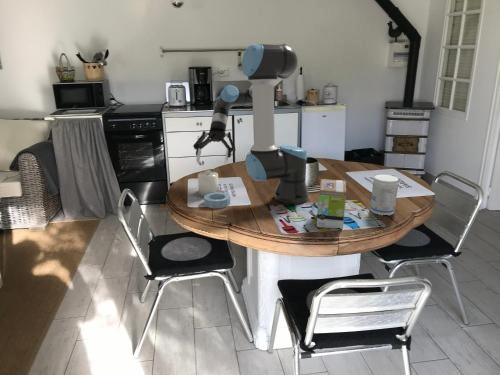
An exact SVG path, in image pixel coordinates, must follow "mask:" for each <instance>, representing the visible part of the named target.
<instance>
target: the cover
mask: <svg viewBox="0 0 500 375" xmlns="http://www.w3.org/2000/svg"><path fill="white" fill-rule="evenodd" d="M197 182H198V183H197V185H198V190H197V191H199V195H200V196H205V195H207V194H210V193H218V190H219V173H218V172H215V171H212V170H209V169H206V170H205V171H202V172H199V173H197Z"/></svg>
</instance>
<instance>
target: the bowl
mask: <svg viewBox="0 0 500 375" xmlns="http://www.w3.org/2000/svg"><path fill="white" fill-rule="evenodd" d="M203 203H204V206H205V207H206V208H210V209H223V208H227V207H229V206H230V205H231V194H228V193H226V192H225V193H220V192H219V193H210V194H207V195H205V196H204V198H203Z"/></svg>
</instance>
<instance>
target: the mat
mask: <svg viewBox="0 0 500 375" xmlns="http://www.w3.org/2000/svg"><path fill="white" fill-rule="evenodd" d="M219 192H220V193H226V192H227V191H226V190H220V189H218V193H219ZM190 196H191V197H195V198H196V197H197V198H203V199H204V196H200V195H199V190H197V191H196V192H194V193H192V194H190Z"/></svg>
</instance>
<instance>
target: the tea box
mask: <svg viewBox="0 0 500 375" xmlns="http://www.w3.org/2000/svg"><path fill="white" fill-rule="evenodd" d="M346 198H347V181H346V180H340V179H327V178H325V179H324V178H321V179H320V185H319V189H318V199H317V200H318V201H317V211H316V212H317V214H316V227H318V228H325V229H326V228H327V229H335V228H340V229H339V230H342V229H344V220H345V212H346V211H345V210H346V200H347V199H346Z"/></svg>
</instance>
